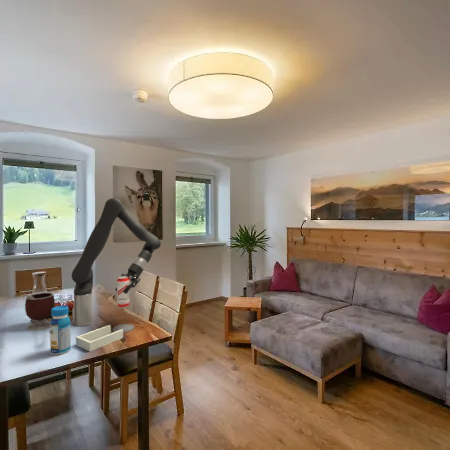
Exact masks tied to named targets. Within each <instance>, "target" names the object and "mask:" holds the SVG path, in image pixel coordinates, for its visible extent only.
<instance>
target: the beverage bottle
mask: <svg viewBox="0 0 450 450" xmlns="http://www.w3.org/2000/svg"><path fill="white" fill-rule="evenodd" d="M51 317H52V318H51V320H49V321H50V326H51V327H49V341H50V343H49V344H50V354H51V355H54V356H55V355H56V356H58V355H63V354H66V353H68V352H69V351H71V349H72V345H71V343H72V342H71V341H72V340H71V339H72V337H71V336H72V333H71V332H72V331H71V330H72V326H71V318H70V317H69V306H67V305H57V306H55V307H54V308H52V310H51Z"/></svg>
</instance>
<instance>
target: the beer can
mask: <svg viewBox="0 0 450 450" xmlns="http://www.w3.org/2000/svg"><path fill="white" fill-rule="evenodd" d="M120 276H121V275H120ZM120 276H119V277H117V280H116V288H117V291H116V295H117V296H116V299H117V301H116V302H117V305H116V306H117V307H118V308H119V309H125V308H128V307H129V306H130V303H131V302H130V290H129V291H128V293H127V294H125V293H124V292H123V291H124V290H125V288H126V287H127V286H128V281H129V279H128V277H127V276H121V277H120Z"/></svg>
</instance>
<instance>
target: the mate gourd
mask: <svg viewBox="0 0 450 450" xmlns="http://www.w3.org/2000/svg"><path fill="white" fill-rule="evenodd" d="M23 296H24V297H25V302H24V309H25V314H26V316H27V317H28V318H29V319H30V320H32V321H33V320H34V321H36V322H33V323H31V324H29V325H28V326H27V330H28V331H33V332H34V331H42V330H46V329H48V328H49V329H50V327H51V326H50V321H51V320H45V319H47V318H50V317H52V315H51V310H52V308H54V307H56V306H55V305H56V304H55V297H54V293H53V292H38V293H33V294H25V293H23V294H22V297H23Z"/></svg>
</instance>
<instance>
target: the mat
mask: <svg viewBox="0 0 450 450" xmlns="http://www.w3.org/2000/svg"><path fill="white" fill-rule="evenodd" d="M121 329H122V330H123V334H124V333H129V332H131V331H133V330H134V329H135V325H134V324H130V323H123V324H118V325H116V326H114V327H112V331H113V332H116V331H118V330H121Z"/></svg>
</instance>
